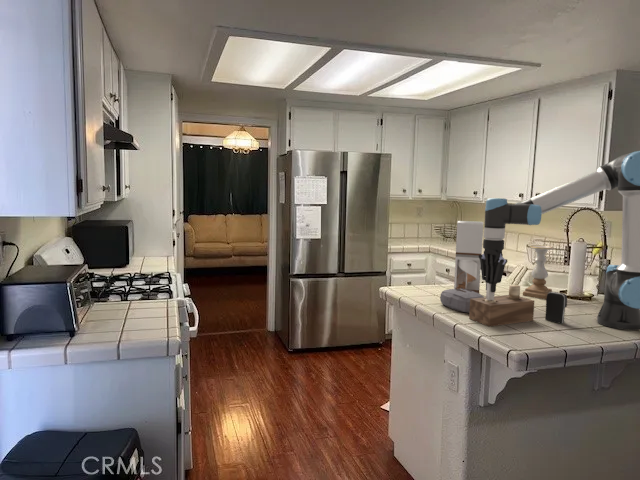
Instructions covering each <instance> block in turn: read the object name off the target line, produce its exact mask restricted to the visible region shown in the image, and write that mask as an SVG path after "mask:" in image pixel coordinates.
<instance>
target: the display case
mask: <svg viewBox="0 0 640 480" xmlns="http://www.w3.org/2000/svg"><path fill="white" fill-rule="evenodd" d="M483 240H484V221H472V220H471V221H470V220H469V221H468V220H457V222H456V243H455V244H456V245H455V258H454V259H455V260H454V261H455V262H454V263H455V266H454V284H453V289H455V288H457V289H461V288H464V289H468V290H471V291H474V292H476V293H479V294H480V284H481V263H480V259H479V255H482V254H483V252H482V251H483Z"/></svg>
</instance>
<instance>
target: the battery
mask: <svg viewBox="0 0 640 480" xmlns="http://www.w3.org/2000/svg"><path fill="white" fill-rule="evenodd" d="M567 306H568V296H567V295H566V293H563V292H557V291H552V292H549V293H548V294H547V298H546V299H545V317H544V318H545V320H547V321H550V322H553V323H557V324H563V323H564V322H565V313H566V308H567Z"/></svg>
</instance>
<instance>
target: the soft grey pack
mask: <svg viewBox="0 0 640 480" xmlns="http://www.w3.org/2000/svg"><path fill="white" fill-rule="evenodd" d="M483 297H485V296H484V295H483V294H481V293H480V292H479V293H476V292H474V291H471V290H468V289H464V288H461V289H457V288H455V289H454V288H447V289H444V290H443V291H441V293H440V296H439V298H440V303H441V304H442V305H443V306H445V307H447V308H448V307H449V308H448V309H451V310H453V309H454V311H457V312H463V313H469V312H470V299H474V298H483Z"/></svg>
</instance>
